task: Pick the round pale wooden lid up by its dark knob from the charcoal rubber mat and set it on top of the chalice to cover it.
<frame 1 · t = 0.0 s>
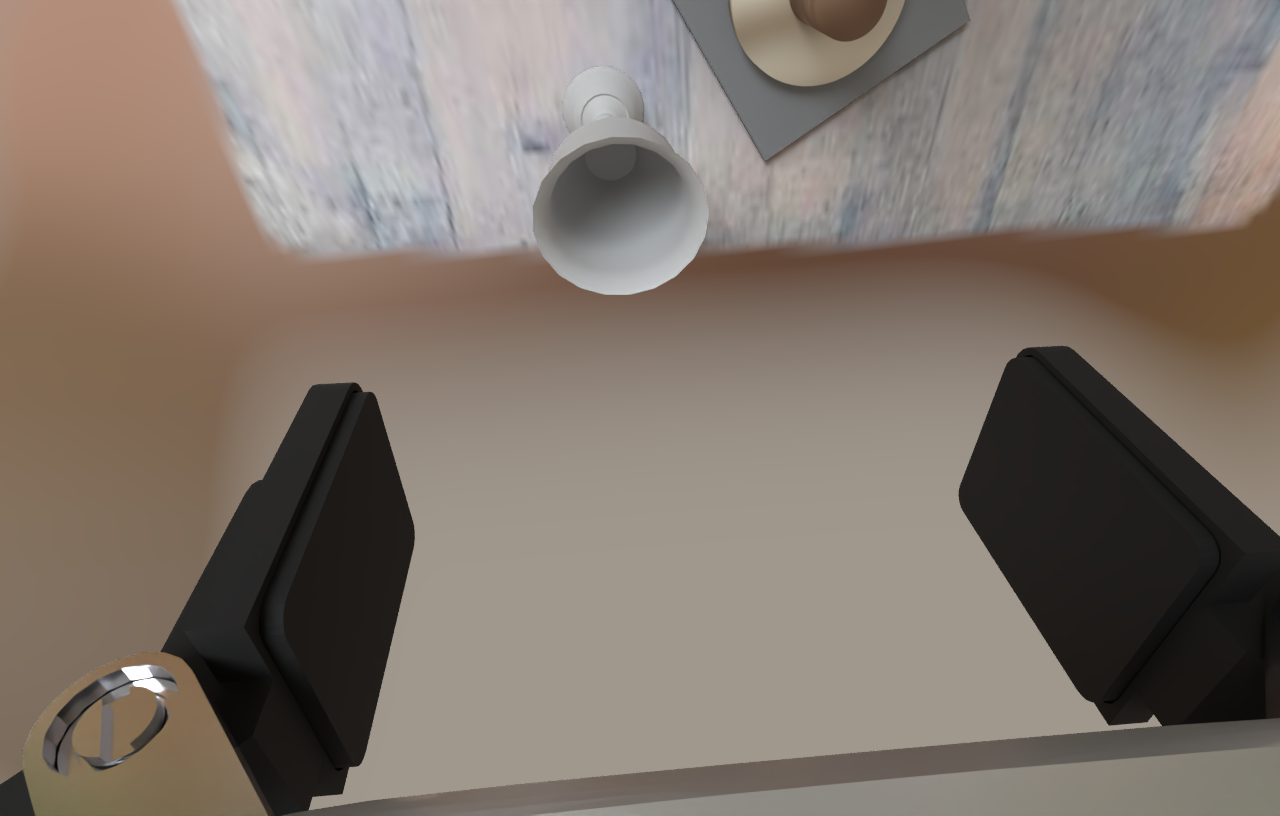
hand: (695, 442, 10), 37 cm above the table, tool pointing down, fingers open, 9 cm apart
chalice: (603, 109, 43), on the table
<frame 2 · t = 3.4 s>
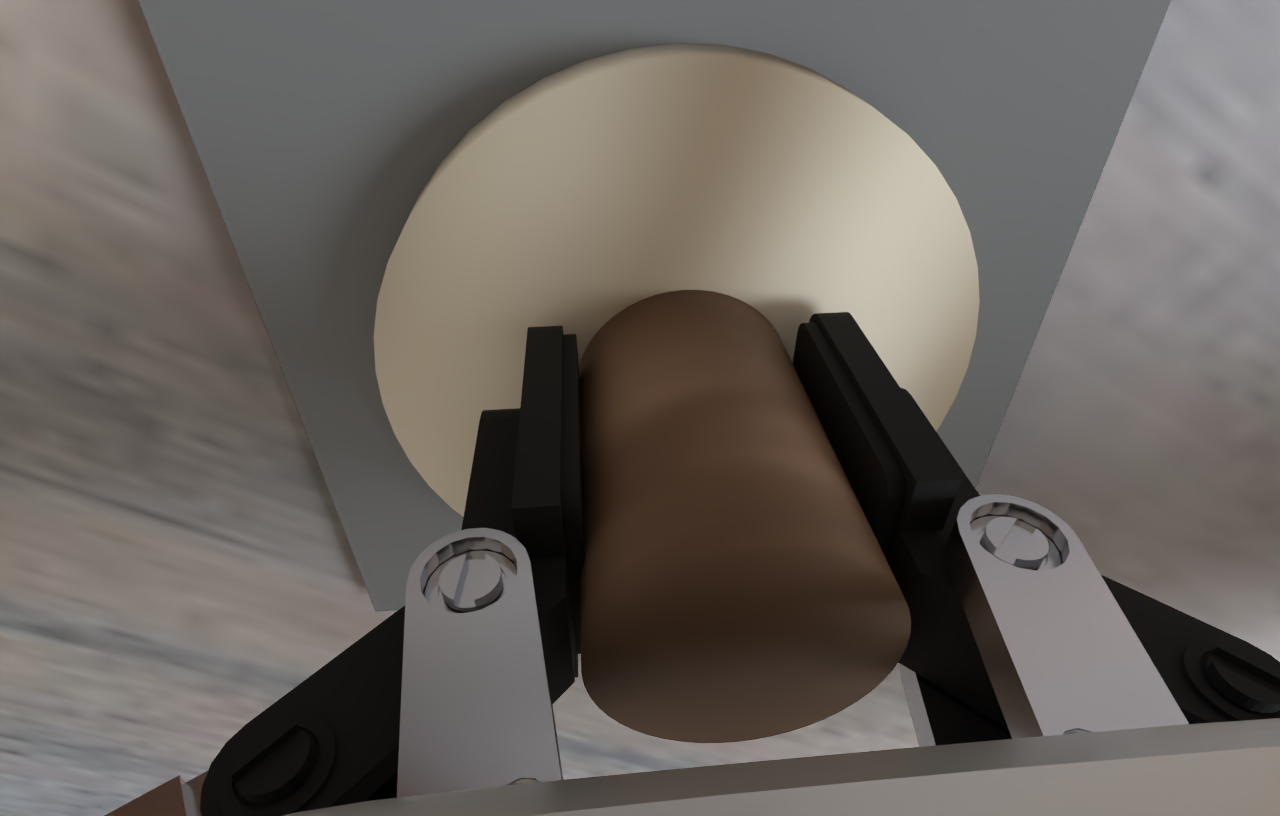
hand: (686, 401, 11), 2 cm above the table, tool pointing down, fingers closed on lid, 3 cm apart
mat: (669, 331, 13), on the table
lid: (673, 347, 13), point 1 cm above the table, touching gripper, mat
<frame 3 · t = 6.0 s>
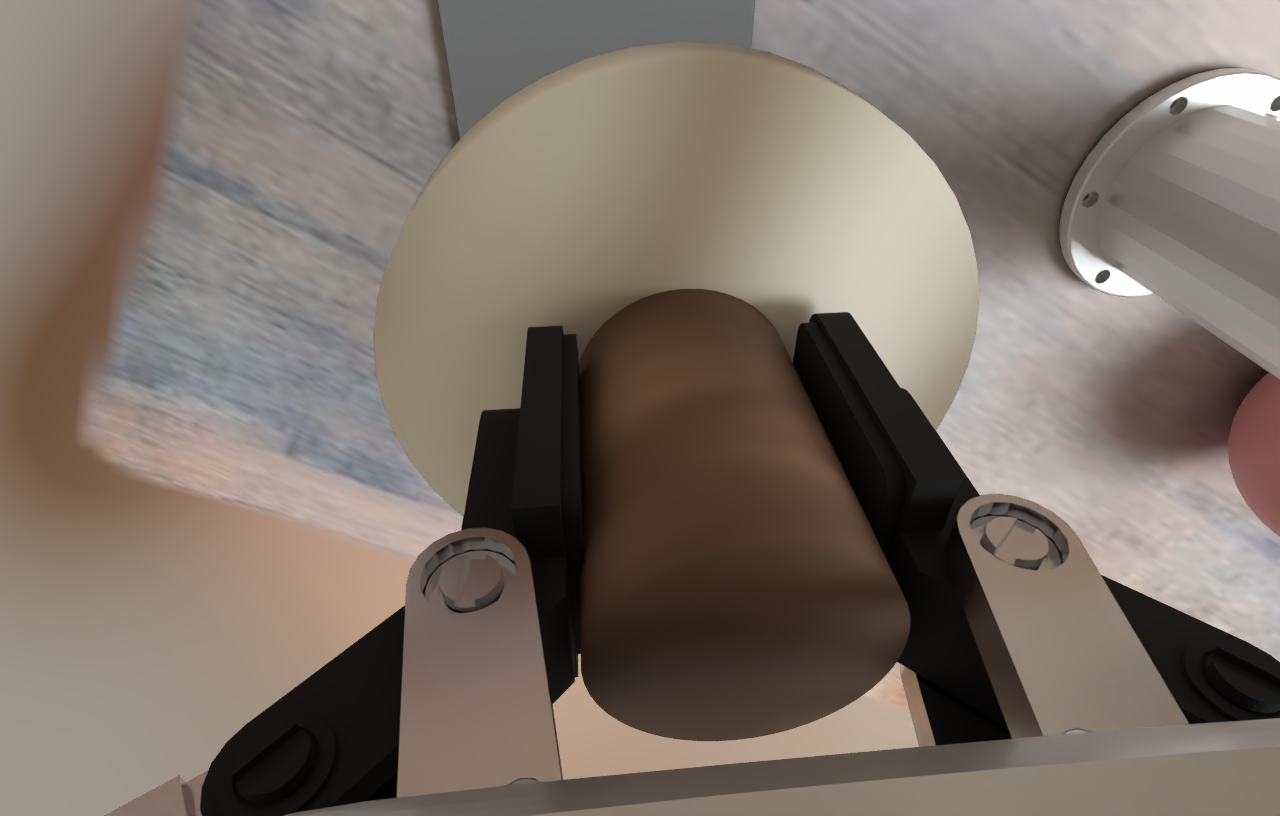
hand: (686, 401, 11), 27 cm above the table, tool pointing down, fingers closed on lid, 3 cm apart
mat: (601, 66, 32), on the table
lid: (673, 346, 13), point 25 cm above the table, touching gripper
when the fingers open (21 cm above the table, at t = 8.5 s): lid drops 1 cm, resting on chalice.
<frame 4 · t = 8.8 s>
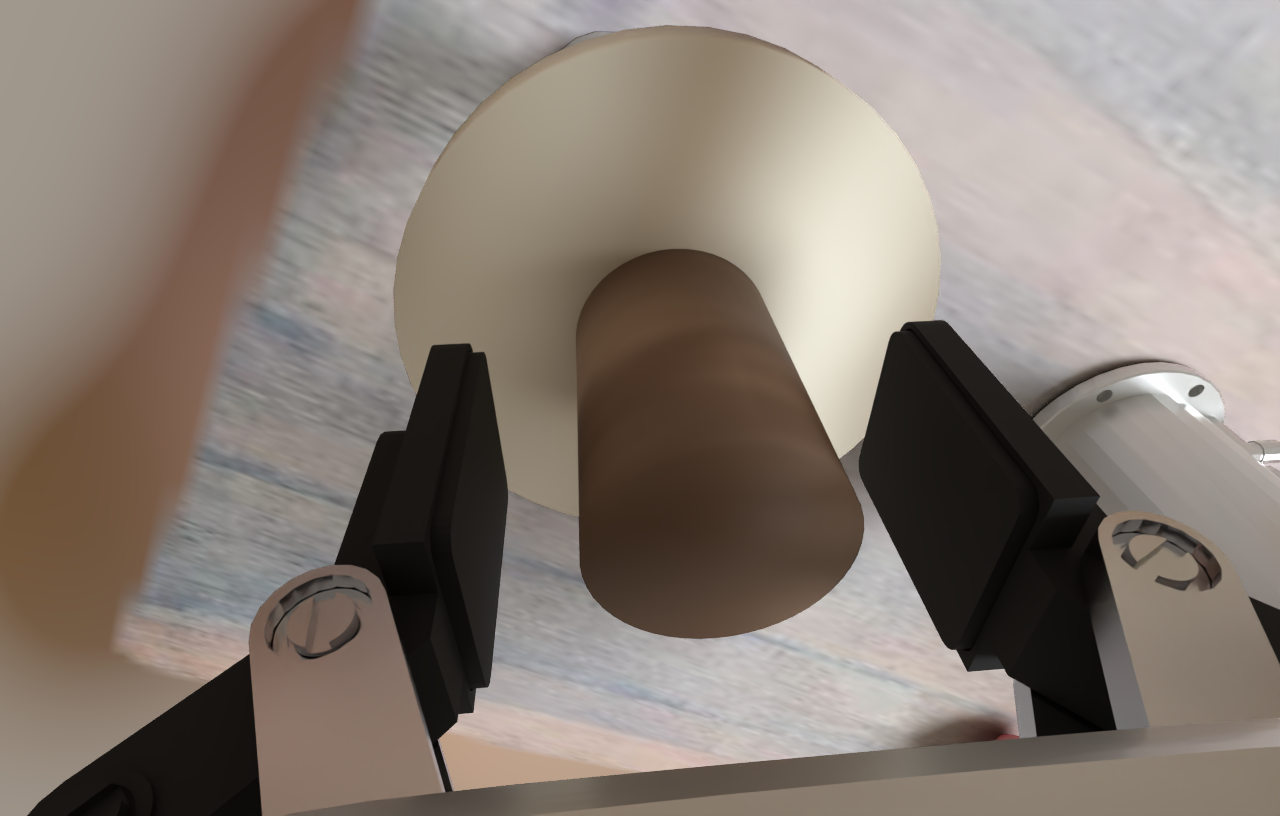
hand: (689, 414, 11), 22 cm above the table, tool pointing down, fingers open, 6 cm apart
lid: (665, 307, 14), point 18 cm above the table, touching chalice
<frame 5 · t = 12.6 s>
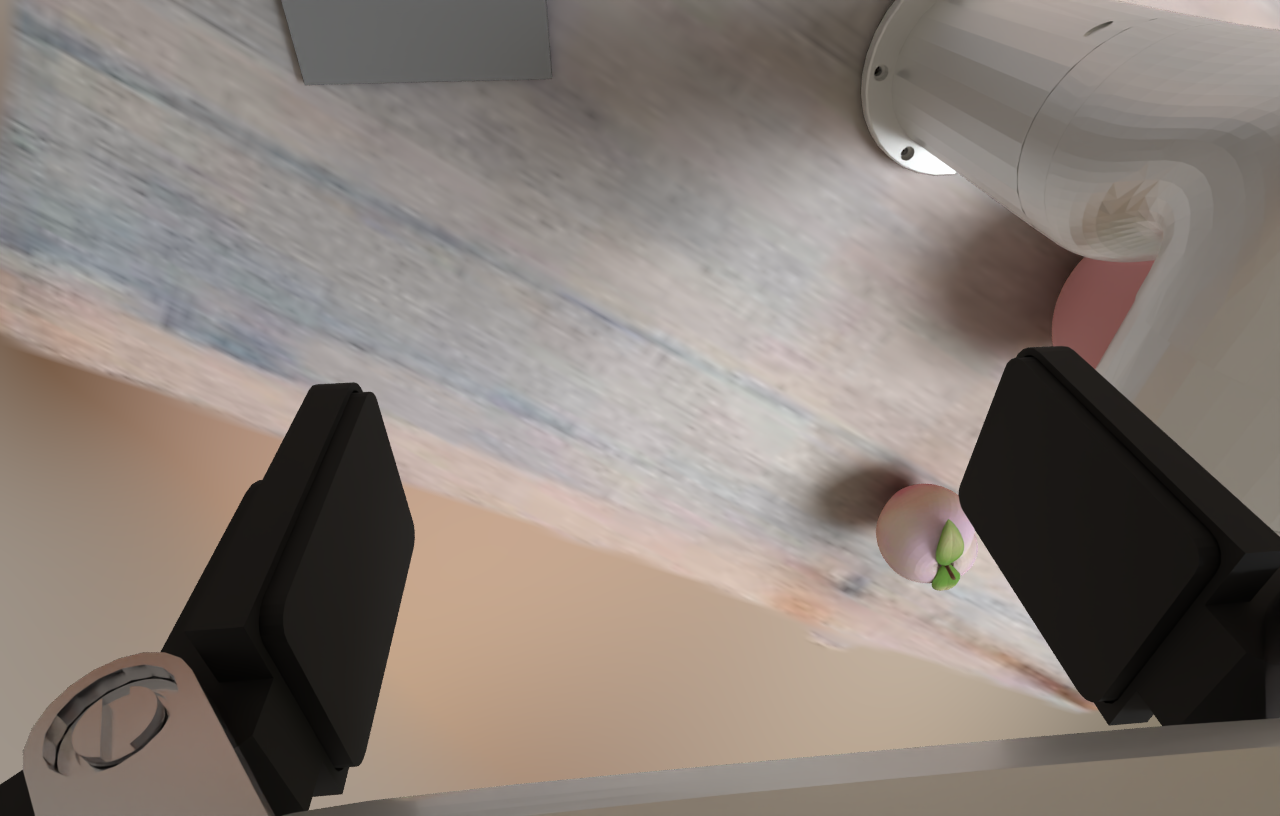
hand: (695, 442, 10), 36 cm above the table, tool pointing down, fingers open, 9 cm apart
balloon: (1126, 287, 53), on the table
decorative fruit: (902, 494, 65), on the table
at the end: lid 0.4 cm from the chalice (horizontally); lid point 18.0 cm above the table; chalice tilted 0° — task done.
